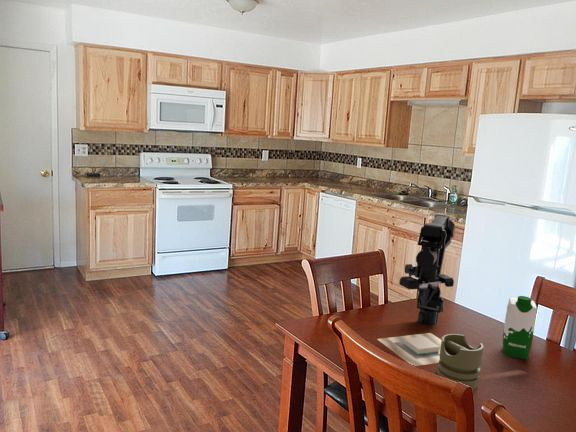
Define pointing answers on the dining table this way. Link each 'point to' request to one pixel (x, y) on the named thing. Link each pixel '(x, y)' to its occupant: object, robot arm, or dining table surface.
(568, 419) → the dining table surface
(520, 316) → the milk carton
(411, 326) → the dining table surface
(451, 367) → the piston
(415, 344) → the tile
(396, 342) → the board
